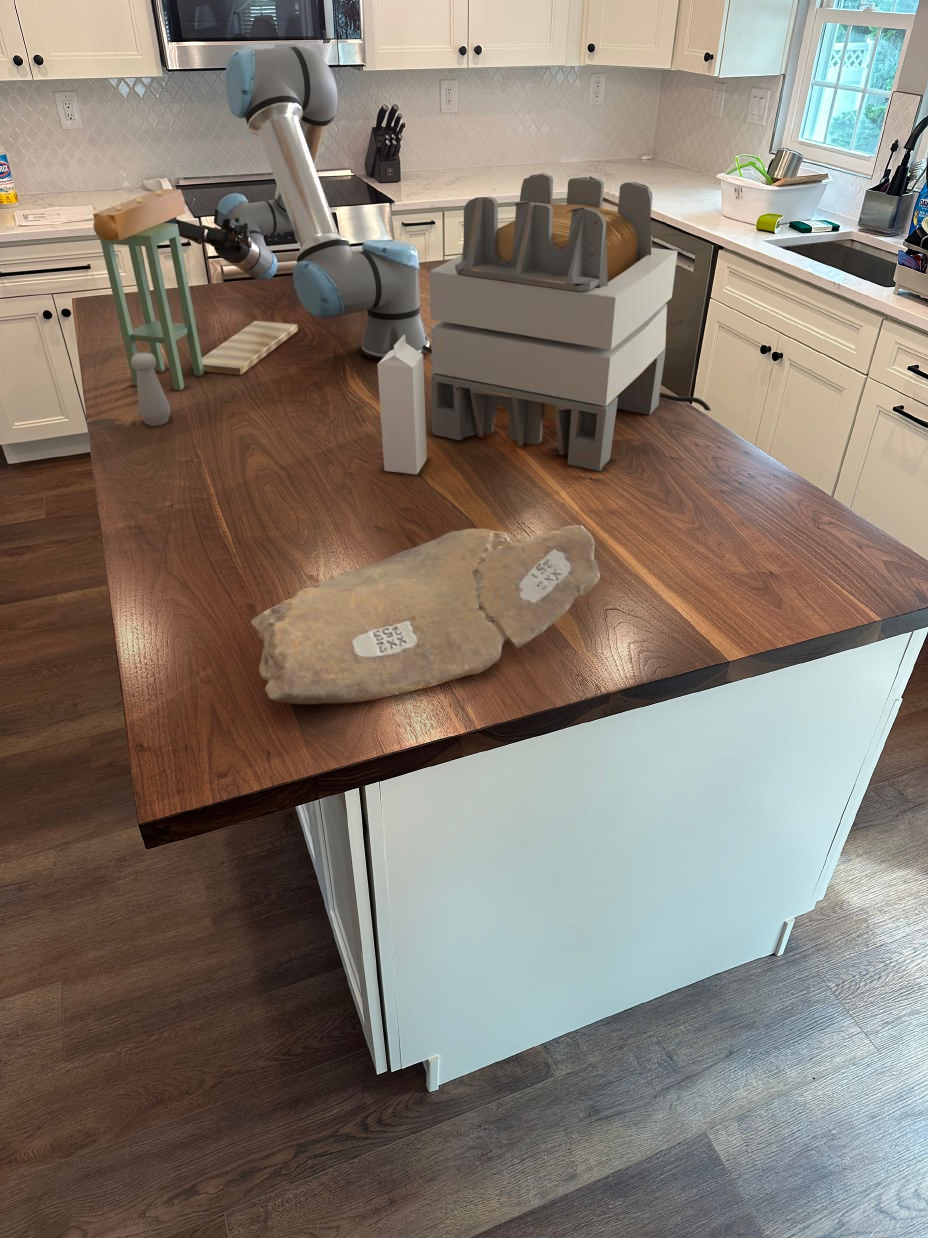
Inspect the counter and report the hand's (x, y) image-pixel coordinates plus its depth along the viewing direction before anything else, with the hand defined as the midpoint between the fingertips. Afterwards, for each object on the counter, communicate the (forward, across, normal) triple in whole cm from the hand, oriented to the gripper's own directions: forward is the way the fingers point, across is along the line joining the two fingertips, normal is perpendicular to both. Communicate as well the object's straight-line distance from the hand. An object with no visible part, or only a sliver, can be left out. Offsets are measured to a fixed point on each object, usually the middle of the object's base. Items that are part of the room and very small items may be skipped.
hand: (186, 214), depth 187 cm
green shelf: (+1, 0, +34) cm, 34 cm away
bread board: (-17, +8, +23) cm, 30 cm away
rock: (+61, +78, +69) cm, 121 cm away
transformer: (+1, +82, +34) cm, 89 cm away
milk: (+23, +61, +47) cm, 81 cm away
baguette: (+14, 0, +7) cm, 16 cm away
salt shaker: (+18, +9, +44) cm, 49 cm away
